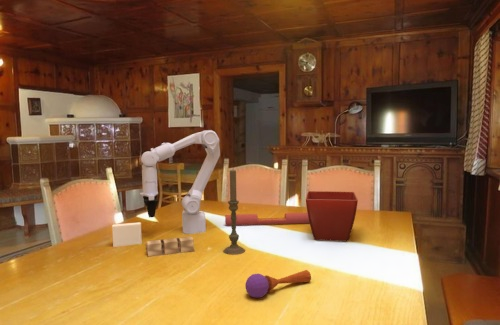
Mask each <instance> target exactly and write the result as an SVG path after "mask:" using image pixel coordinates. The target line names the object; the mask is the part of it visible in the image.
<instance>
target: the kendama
mask: <svg viewBox="0 0 500 325" xmlns="http://www.w3.org/2000/svg"><path fill="white" fill-rule="evenodd" d="M311 280H312V274H311V272H310V271H309V270H308V269H305V270H301V271H300V272H299V271H298V272H296V273H293V274H290V275H288V276H285V277H281V278H275V277H272V276H270V275H263V274H261V273H253V274H251V275H250V276H248V277H247V279H246V282H245V287H244V288H245V291H246V293H247V294H248V295H249V297H252V298H255V299H258V298H263V297H264V296H265V295H266V294H268V293H270V292H271V291H272V290H273V289H275V288H276V287H277V286H278V285H280V284H295V283H296V284H297V283H310V282H311Z"/></svg>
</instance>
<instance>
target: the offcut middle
mask: <svg viewBox="0 0 500 325" xmlns="http://www.w3.org/2000/svg"><path fill="white" fill-rule="evenodd" d="M176 238H177V237H175V238H174V237H173V239H172V238H165V239H164V240H163V241H164V253H165V254H168V255H172V254H171V253H177V254H179V253H178V241H177V239H176Z"/></svg>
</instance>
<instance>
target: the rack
mask: <svg viewBox="0 0 500 325" xmlns="http://www.w3.org/2000/svg"><path fill="white" fill-rule="evenodd" d="M183 237H184V236H183ZM183 237H175V238H176V239H177V241H178V253H171V254H170V255H174V254H175V255H177V254H183V253H186V252H181V251H180V246H179V238H183ZM173 238H174V237H173ZM173 238H172V237H171V239H173ZM159 240H160V241H161V251H162V255H154V256H153V257H157V256H158V257H159V256H166V255H169V254H165V253H164V241H163V240H164V239H159ZM152 241H154V240H152ZM145 250H146V257H147V258H151V257H152V256H148V249H147V244H145ZM192 252H195V250H194V251H188V252H187V253H192Z"/></svg>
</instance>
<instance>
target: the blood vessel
mask: <svg viewBox="0 0 500 325" xmlns="http://www.w3.org/2000/svg"><path fill="white" fill-rule="evenodd" d="M224 216H225V217H224V218H225V220H224V222H225V224H224V225H225V227H230V226H232V222H231V221H232V220H231V214H225V215H224ZM236 217H237V219H236V227H237V226H269V225H270V226H272V225H305V224H308V225H310V222H309V217H308V212H289V213H288V212H287V213H286V212H285V213H284V217H267V218H263V217H261V218H258V214H257V213H251V214H250V213H249V214H248V213H247V214H245V213H244V214H236Z"/></svg>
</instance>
